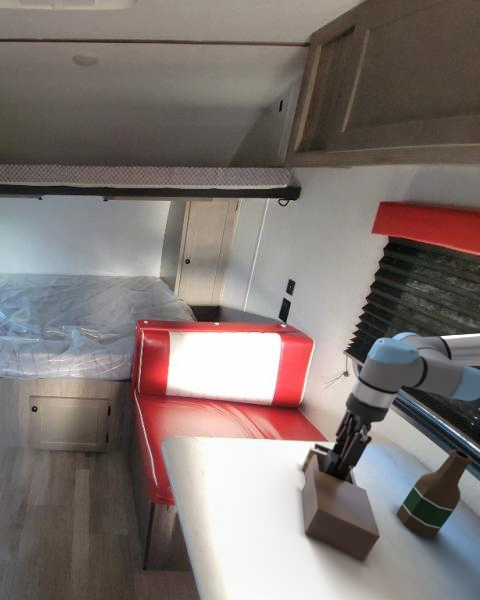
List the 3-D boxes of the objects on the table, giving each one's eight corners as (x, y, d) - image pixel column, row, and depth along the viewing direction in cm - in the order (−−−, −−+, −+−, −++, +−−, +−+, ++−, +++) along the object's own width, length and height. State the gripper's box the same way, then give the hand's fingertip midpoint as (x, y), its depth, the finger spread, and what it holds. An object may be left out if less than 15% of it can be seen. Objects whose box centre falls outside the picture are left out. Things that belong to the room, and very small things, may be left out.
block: (342, 469, 90) (348, 457, 88) (344, 481, 86) (351, 468, 84) (322, 462, 92) (328, 449, 90) (324, 473, 88) (331, 460, 86)
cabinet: (300, 493, 90) (312, 468, 87) (350, 515, 86) (365, 489, 82) (303, 536, 79) (317, 508, 76) (362, 564, 75) (380, 536, 71)
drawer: (300, 456, 102) (308, 436, 99) (339, 471, 98) (350, 451, 95) (304, 499, 88) (314, 477, 85) (351, 519, 84) (363, 498, 81)
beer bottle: (397, 527, 84) (444, 456, 75) (391, 505, 90) (435, 436, 81) (439, 548, 80) (494, 475, 71) (430, 523, 86) (480, 452, 77)
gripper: (401, 427, 71) (358, 503, 80) (379, 387, 86) (345, 455, 94) (358, 413, 75) (321, 488, 83) (344, 377, 89) (314, 443, 98)
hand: (334, 470), depth 89 cm, fingers closed on block, 4 cm apart
